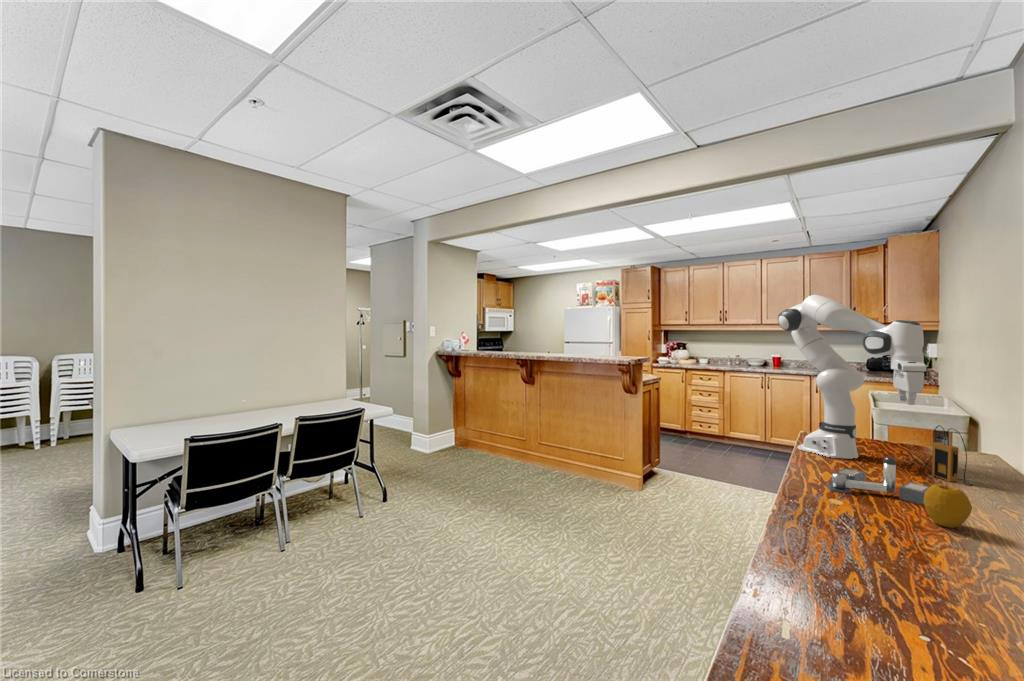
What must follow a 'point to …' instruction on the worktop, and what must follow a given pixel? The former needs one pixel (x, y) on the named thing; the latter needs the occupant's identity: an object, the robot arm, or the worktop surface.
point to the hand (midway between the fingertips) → (906, 402)
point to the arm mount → (838, 489)
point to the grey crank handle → (887, 485)
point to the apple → (947, 505)
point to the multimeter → (946, 460)
